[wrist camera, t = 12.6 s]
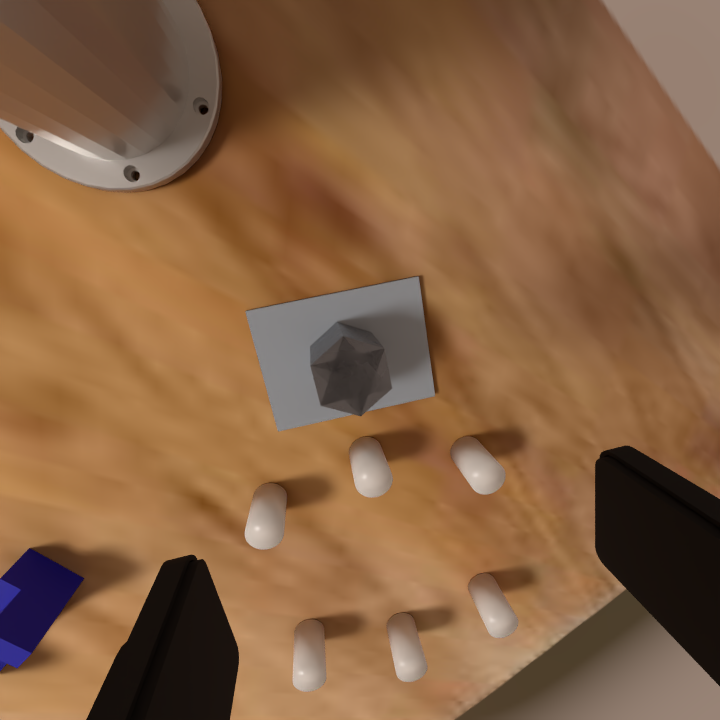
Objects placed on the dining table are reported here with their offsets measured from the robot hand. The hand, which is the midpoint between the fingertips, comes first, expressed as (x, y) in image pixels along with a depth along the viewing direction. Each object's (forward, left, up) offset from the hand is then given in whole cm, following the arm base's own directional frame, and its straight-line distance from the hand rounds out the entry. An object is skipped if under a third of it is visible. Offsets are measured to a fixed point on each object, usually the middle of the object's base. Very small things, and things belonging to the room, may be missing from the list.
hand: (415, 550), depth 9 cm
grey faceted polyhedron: (0, 0, -19) cm, 19 cm away
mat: (0, 0, -19) cm, 19 cm away
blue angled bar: (+15, -29, -20) cm, 38 cm away
